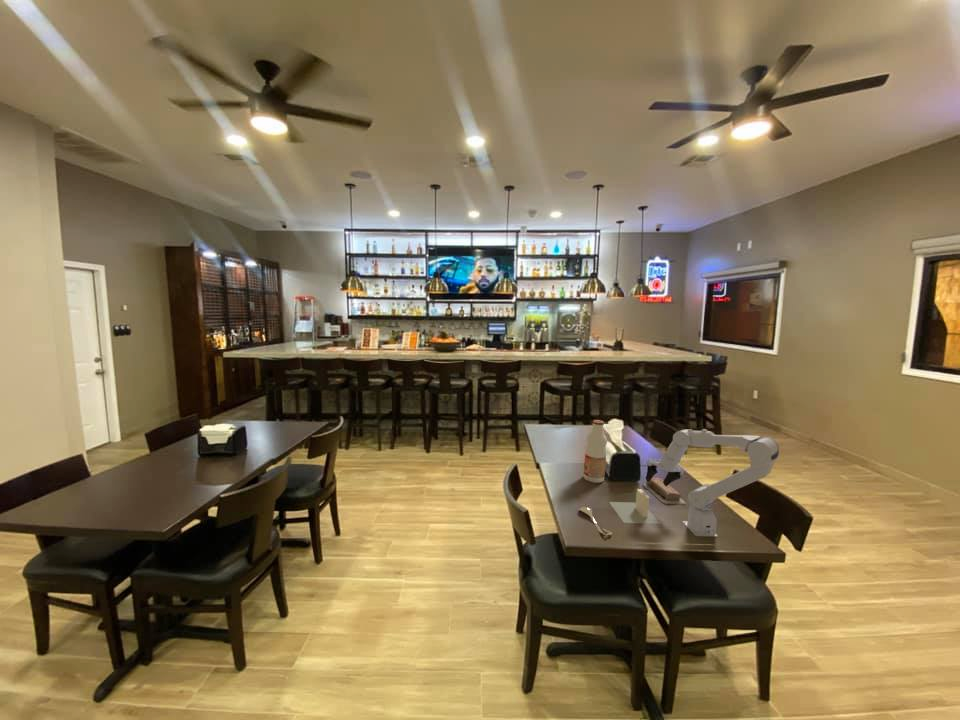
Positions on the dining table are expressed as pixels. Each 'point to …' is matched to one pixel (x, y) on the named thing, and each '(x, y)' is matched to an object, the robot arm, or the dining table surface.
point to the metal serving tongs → (589, 512)
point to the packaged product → (663, 492)
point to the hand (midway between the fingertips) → (655, 482)
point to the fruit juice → (595, 453)
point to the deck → (642, 503)
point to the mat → (632, 513)
